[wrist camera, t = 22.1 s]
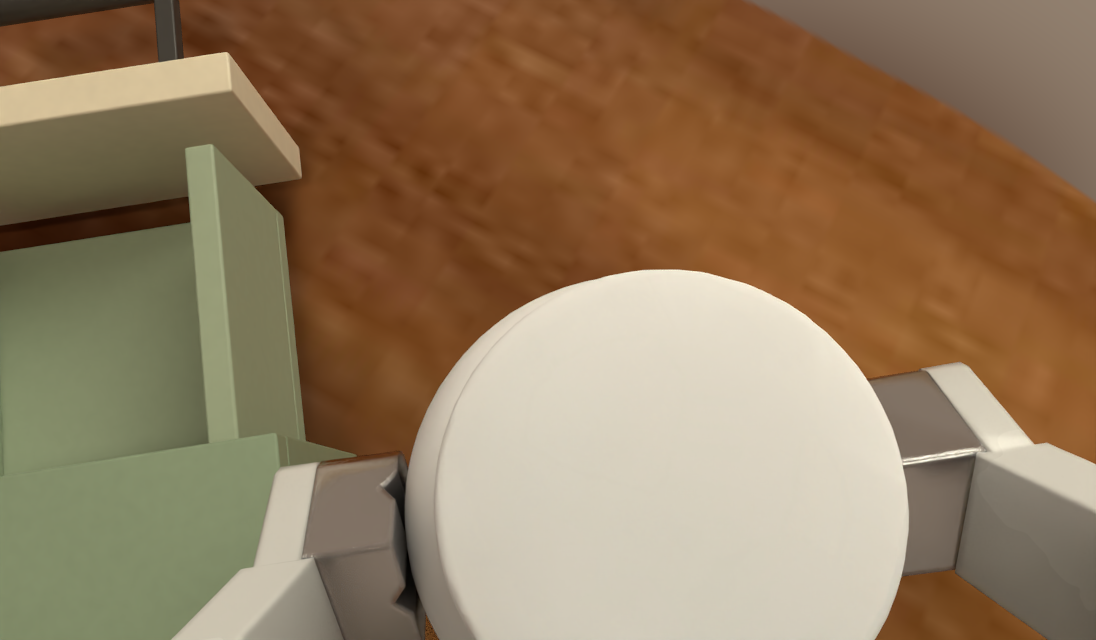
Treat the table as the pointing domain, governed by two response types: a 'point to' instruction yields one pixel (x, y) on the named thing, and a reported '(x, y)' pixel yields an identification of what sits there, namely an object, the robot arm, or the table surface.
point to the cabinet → (135, 537)
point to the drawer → (143, 258)
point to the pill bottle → (656, 473)
